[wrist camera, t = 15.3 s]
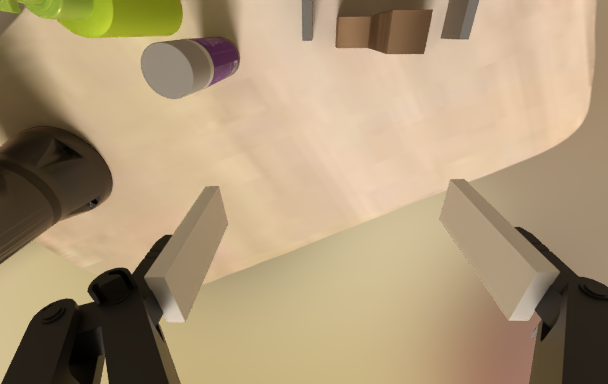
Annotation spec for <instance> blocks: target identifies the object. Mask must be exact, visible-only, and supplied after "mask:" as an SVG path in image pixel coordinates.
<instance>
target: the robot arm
mask: <svg viewBox="0 0 608 384" xmlns="http://www.w3.org/2000/svg"><path fill="white" fill-rule="evenodd" d="M111 191H112V177H111V174H110V171H109V169H108V167H107V165H106V163H105V162H104V160H103V159H102V158H101V156H100V155H99V154H98V153H97V152H96V151H95V150H94V149H93V148H92V147H91V146H90V145H89V144H87V143H86V142H85V141H83V140H82V139H80V138H79V137H77V136H75V135H73V134H71V133H69V132H67V131H65V130H62V129H59V128H54V127H48V126H39V127H34V128H31V129H28V130H25V131H22V132H19V133H17V134H15V135H14V136H12V137H11V138H10V139H9V140H8V141H7V142H5V143H4V144H3V145H2V146H1V147H0V264H1V263H3V262H4V261H5V260H7V259H8V258H9V257H11V256H12V255H13V254H15V253H16V252H18V251H19V250H20V249H22V248H23V247H24V246H26V245H27V244H28V243H30V242H31V241H33V240H34V239H35V238H37V237H38V236H39V235H41V234H42V233H43V232H45V231H46V230H47V229H49V228H50V227H51V226H53V225H54V224H56V223H57V222H58V221H61V220H64V219H67V218H70V217H73V216H75V215H78V214H81V213H84V212H87V211H90V210H92V209H94V208H96V207H97V206H99V205H100V204H101V203H103V202H104V201H105V200H106V199H107V198H108V197H109V196H110V194H111ZM440 220H441V222H442V224H443V225H444V227H445V228H446V230H447V231H448V233H449V234H450V235H451V237H452V238H453V239H454V241H455V243H456V244H457V246H458V247H459V248H460V250H461V251H462V253H463V255H464V256H465V257H466V259H467V260H468V262H469V263H470V265H471V266H472V268H473V269H474V271H475V272H476V274H477V275H478V277H479V278H480V280H481V281H482V282H483V284H484V285H485V287H486V288H487V290H488V291H489V293H490V294H491V296H492V297H493V298H494V300H495V302H496V303H497V304H498V306H499V307H500V309H501V310H502V312H503V313H504V314H505V316H506V318H507V319H508V320H509V321H516V320H517V321H518V320H519V321H520V320H521V321H523V320H524V321H525V320H529V319H530V317H531V316H532V314H533V313H534V311H536V312H537V314H538V315H539V316H540V317H541V319H542V320H541V321H540V323H539V324H538V326H537V327H536V328H535V330H534V331H533V333H532V335H531V337H532V338H534V337H535V336H536V335H537V336H536V344H535V350H534V356H533V362H532V369H531V376H530V383H529V384H608V287H607V286H605V285H604V284H602V283H599V282H597V281H595V280H593V279H589V278H585V277H578V276H577V275H576V274H575V273H574V272H573V271H572V270H571V269H570V268H569V267H568V266H566V265H565V264H564V263H563V262H562V261H561V260H560V259H559V258H558V257H557V256H556V255H554V254H553V253H552V252H550V251H549V249H548V248H547V247H546V246H545V245H543V244H542V243H541V242H540V241H539V240H538V239H537V238H536V237H535V236H534V235H533V234H531V233H529V232H527V231H526V230H524V229H522V228H520V227H513V226H512V225H511V224H510V223H509V222H508V221H507V220H506V219H505V218H504V217H503V216H502V215H501V214H500V213H498V211H497V210H496V209H494V207H493V206H491V204H489V203H488V202H487V201H486V200H485V199H484V198H483V197H482V196H481V195H480V194H479V193H478V192H477V191H476V190H475V189H474V188H473V187H472V186H471V185H469V183H468V182H467V181H466V180H465V179H451V180H450V182H449V186H448V189H447V193H446V197H445V200H444V204H443V208H442V212H441V215H440ZM227 225H228V221H227V217H226V213H225V209H224V205H223V201H222V197H221V193H220V189H219V186H209V187H205V189H204V190H203V191H202V193H201V194H200V196H199V197H198V199H197V200H196V202H195V203H194V205H193V206H192V208H191V209H190V211H189V212H188V213H187V215H186V216H185V218H184V219H183V221H182V222H181V224H180V225H179V227H178V228H177V230H176V231H175V232H174V234H173V235H164V236H163V237H162V238H161V239H159V240H158V241H157V242H156V243H155V244H154V245H153V247H152V248H151V249H150V252H148V253H147V255H146V256H145V259H143V260H142V261H141V263H140V264H139V266H138V267H137V268H136V270H135V271H134V272H133V274H132V275H131V273H130V271H129V270H128V269H126V268H114V269H111V270H108V271H106V272H104V273H102V274H101V275H99V276H98V277H97V278H95V279H94V280H93V281H92V283H91V284H90V285H89V287H88V293H89V294H90V296H91V297H92V299H93V300H94V301H95V302H91V303H88V304H84V305H80V306H78V305H77V303H76V302H75V301H74V300H73V299H62V300H58V301H56V302H53V303H51V304H49V305H48V306H46V307H44V308H43V309H41V310H40V311H39V312H38V313H37V314H36V315H35V316H34V317H33V319H32V320H31V321H30V323H29V325H28V327H27V330H26V332H25V334H24V336H23V338H22V340H21V342H20V345H19V347H18V349H17V351H16V353H15V355H14V358H13V360H12V362H11V364H10V366H9V368H8V370H7V373H6V375H5V377H4V379H3V381H2V383H1V384H100V382H101V377H102V371H103V365H104V360H105V359H106V365H107V373H108V380H109V384H181V383H180V380H179V378H178V375H177V372H176V369H175V366H174V363H173V360H172V358H171V355H170V352H169V349H168V346H167V343H166V341H165V338H164V335H163V332H162V329H161V327H160V325H159V321H160V319H161V317H162V315H164V316H165V318H166V320H167V322H186V319H187V317H188V315H189V312H190V310H191V308H192V306H193V303H194V301H195V299H196V296H197V294H198V292H199V290H200V287H201V285H202V283H203V280H204V278H205V276H206V273H207V271H208V269H209V267H210V264H211V262H212V260H213V257H214V255H215V253H216V250H217V248H218V246H219V244H220V241H221V239H222V237H223V234H224V232H225V230H226V227H227Z"/></svg>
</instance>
